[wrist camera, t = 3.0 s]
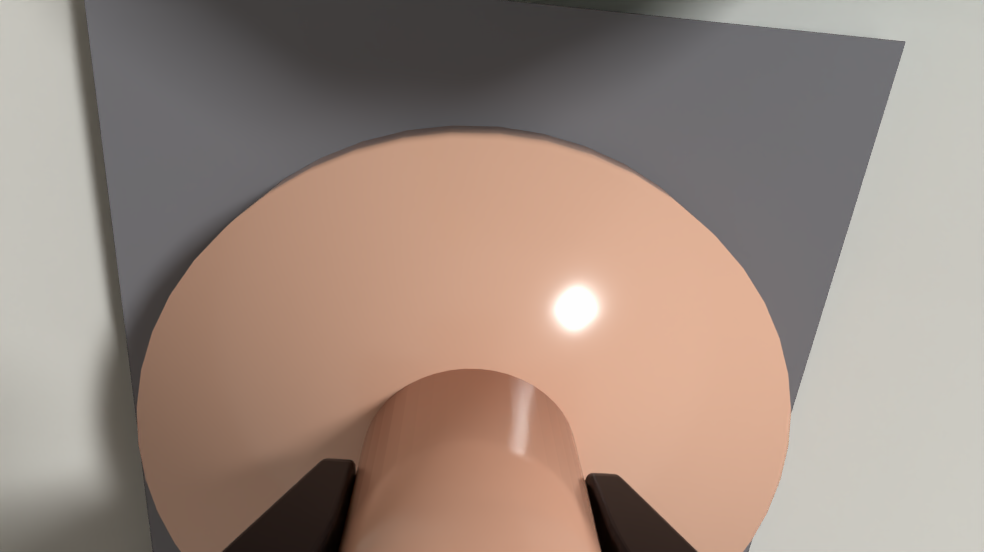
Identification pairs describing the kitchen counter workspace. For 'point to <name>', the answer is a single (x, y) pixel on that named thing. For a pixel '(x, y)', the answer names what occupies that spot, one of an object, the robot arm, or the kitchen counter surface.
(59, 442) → the kitchen counter surface
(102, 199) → the kitchen counter surface
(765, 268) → the mat
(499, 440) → the lid
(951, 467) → the kitchen counter surface
